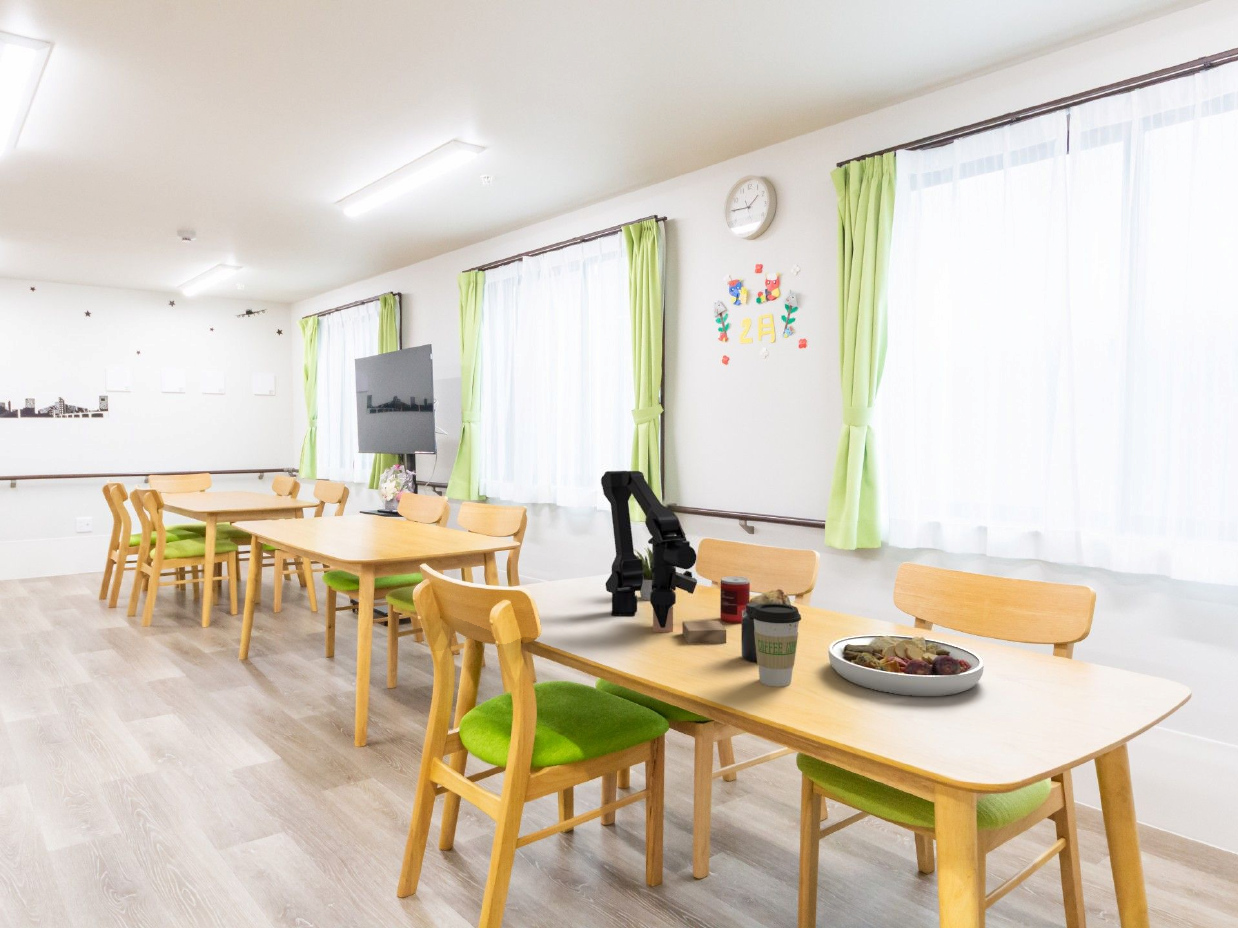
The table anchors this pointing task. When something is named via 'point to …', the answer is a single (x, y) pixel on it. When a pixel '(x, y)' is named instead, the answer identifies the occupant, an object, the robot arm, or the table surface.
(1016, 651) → the table surface
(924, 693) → the bowl
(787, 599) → the pastry
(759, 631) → the coffee cup
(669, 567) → the robot arm
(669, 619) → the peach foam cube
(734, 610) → the canned food
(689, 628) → the walnut box
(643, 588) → the house plant
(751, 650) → the supplement bottle
